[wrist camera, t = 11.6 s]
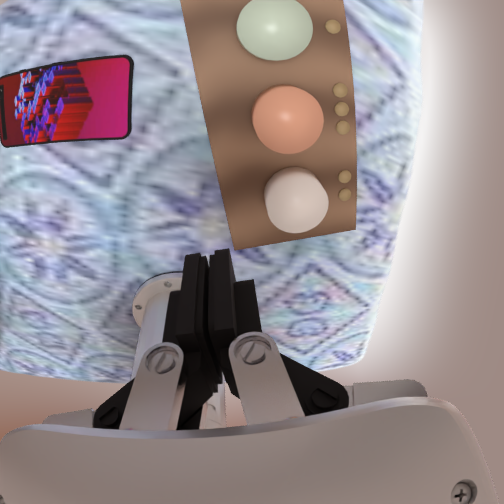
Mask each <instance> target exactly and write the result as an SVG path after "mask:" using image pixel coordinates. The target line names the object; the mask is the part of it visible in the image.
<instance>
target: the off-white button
mask: <svg viewBox="0 0 504 504" xmlns="http://www.w3.org/2000/svg"><path fill="white" fill-rule="evenodd" d="M264 200H265V204H266V208H267V212H268V216H269V218H270V220H271V222H272V223H273V224H274V225H275V226H276V227H277V228H279V229H280V230H282V231H285V232H288V233H302V232H306V231H308V230H311V229H312V228H314V227H316V226H317V225H318V224H319V223H320V222H321V221H322V220H323V218H324V217H325V215H326V213H327V210H328V204H329V201H328V196H327V193H326V191H325V190H324V188H323V187H322V185H321V184H320V182H319V181H318V179H317V178H316V176H315V175H314V174H313V173H312V172H310V171H309V170H307V169H304V168H301V167H288V168H285V169H282V170H280V171H278V172H277V173H275V174H274V175H273V176H272V177H271V178H270V179H269V181H268V182H267V184H266V186H265V190H264Z"/></svg>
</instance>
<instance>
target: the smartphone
mask: <svg viewBox="0 0 504 504" xmlns="http://www.w3.org/2000/svg"><path fill="white" fill-rule="evenodd" d="M133 66H134V63H133V60H132V58H131V57H130V56H128V55H116V56H105V57H96V58H88V59H80V60H74V61H67V62H58V63H52V64H51V65H46V66H41V67H36V68H32V69H27V70H21V71H19V72H15V73H12V74H8V75H5V76H2V77H0V141H1V144H2V145H3V146H4V147H6V148H9V147H17V146H27V145H35V144H47V143H57V142H70V141H88V140H119V139H125V138H126V137H127V136H129V134H130V132H131V98H132V76H133Z"/></svg>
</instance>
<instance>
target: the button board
mask: <svg viewBox="0 0 504 504" xmlns="http://www.w3.org/2000/svg"><path fill="white" fill-rule="evenodd" d="M180 1H181V6H182V11H183V17H184V22H185V27H186V32H187V36H188V41H189V46H190V51H191V56H192V61H193V66H194V71H195V75H196V80H197V85H198V90H199V94H200V99H201V104H202V108H203V113H204V118H205V122H206V127H207V131H208V136H209V140H210V145H211V149H212V154H213V158H214V163H215V167H216V172H217V176H218V181H219V185H220V190H221V194H222V198H223V203H224V207H225V211H226V216H227V220H228V224H229V229H230V233H231V237H232V242H233V246H234V250H240V249H246V248H252V247H257V246H263V245H269V244H275V243H280V242H286V241H292V240H298V239H304V238H309V237H315V236H321V235H327V234H333V233H339V232H344V231H350V230H356V201H357V151H356V121H355V103H354V88H353V76H352V65H351V56H350V47H349V38H348V31H347V23H346V17H345V10H344V4H343V0H296V1H297V2H299V3H300V4H301V5H302V6H303V7H304V8H305V9H306V10H307V12H308V13H309V15H310V17H311V20H312V24H313V34H312V38H311V40H310V42H309V44H308V46H307V47H306V48H305V49H304V50H303V51H302V52H301V53H300V54H298V55H296V56H295V57H292V58H290V59H286V60H278V61H275V60H264V59H260V58H257V57H255V56H253V55H251V54H250V53H248V52H247V51H246V50H245V49H244V48H243V47H242V46H241V44H240V42H239V40H238V38H237V34H236V25H237V21H238V18H239V15H240V13H241V11H242V9H243V8H244V7H245V6H246V5H247V4H248V3H249V2H250V1H252V0H180ZM280 84H286V85H292V86H295V87H297V88H300V89H302V90H304V91H306V92H308V93H309V94H311V95H312V96H313V97H314V98H315V99H316V100H317V101H318V103H319V105H320V106H321V109H322V112H323V117H324V124H323V129H322V132H321V134H320V136H319V138H318V139H317V141H316V142H315V143H314V144H313V145H312V146H311V147H309V148H308V149H306V150H304V151H302V152H299V153H295V154H282V153H278V152H275V151H273V150H271V149H269V148H268V147H266V146H265V145H264V144H263V143H262V142H261V141H260V139H259V138H258V136H257V134H256V131H255V129H254V126H253V124H252V119H251V111H252V106H253V104H254V101H255V100H256V98H257V97H258V96H259V94H260V93H262V92H263V91H264V90H266V89H267V88H269V87H272V86H275V85H280ZM288 167H301V168H304V169H307V170H309V171H310V172H312V173H313V174H314V175H315V176H316V178H317V179H318V181H319V182H320V184H321V185H322V187H323V188H324V190H325V191H326V193H327V196H328V201H329V204H328V210H327V213H326V215H325V217H324V218H323V220H322V221H321V222H320V223H319V224H318V225H317V226H316V227H314V228H312V229H311V230H308V231H306V232H302V233H288V232H285V231H282V230H280V229H279V228H277V227H276V226H275V225H274V224H273V223H272V222H271V220H270V218H269V216H268V212H267V208H266V204H265V200H264V190H265V186H266V184H267V182H268V181H269V179H270V178H271V177H272V176H273V175H274V174H275V173H277V172H278V171H280V170H282V169H285V168H288Z"/></svg>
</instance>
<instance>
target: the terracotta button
mask: <svg viewBox="0 0 504 504" xmlns="http://www.w3.org/2000/svg"><path fill="white" fill-rule="evenodd" d="M251 119H252V124H253V126H254V129H255V131H256V134H257V136H258V138H259V139H260V141H261V142H262V143H263V144H264V145H265V146H266V147H268V148H269V149H271V150H273V151H275V152H278V153H282V154H295V153H299V152H302V151H304V150H306V149H308V148H309V147H311V146H312V145H313V144H314V143H315V142H316V141H317V139H318V138H319V136H320V134H321V132H322V129H323V124H324V117H323V112H322V109H321V106H320V105H319V103H318V101H317V100H316V99H315V98H314V97H313V96H312V95H311V94H309V93H308V92H306V91H304V90H302V89H300V88H297V87H295V86H292V85H286V84H280V85H275V86H272V87H269V88H267V89H266V90H264V91H263V92H262V93H260V94H259V96H258V97H257V98H256V100H255V101H254V104H253V106H252V111H251Z"/></svg>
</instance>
